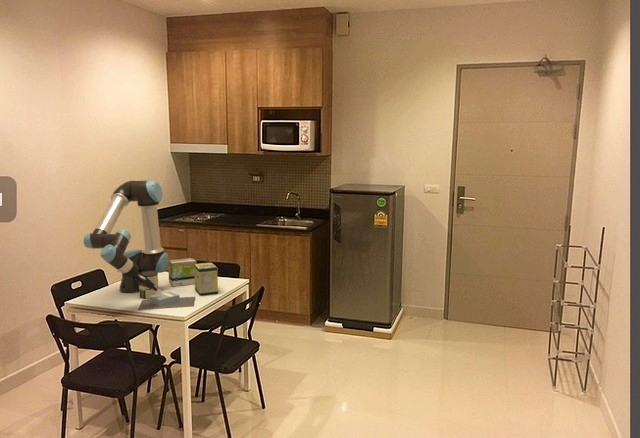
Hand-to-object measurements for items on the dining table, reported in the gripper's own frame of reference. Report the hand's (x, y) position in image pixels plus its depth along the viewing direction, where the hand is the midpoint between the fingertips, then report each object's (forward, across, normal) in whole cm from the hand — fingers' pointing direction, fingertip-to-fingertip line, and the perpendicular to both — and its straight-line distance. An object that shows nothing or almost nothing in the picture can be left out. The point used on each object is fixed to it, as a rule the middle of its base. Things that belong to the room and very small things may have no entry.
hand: (159, 293), depth 265 cm
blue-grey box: (0, 0, -5) cm, 5 cm away
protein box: (+26, -2, +17) cm, 31 cm away
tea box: (+27, -27, +18) cm, 42 cm away
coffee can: (+6, -16, -3) cm, 17 cm away
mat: (+6, +3, -2) cm, 7 cm away
